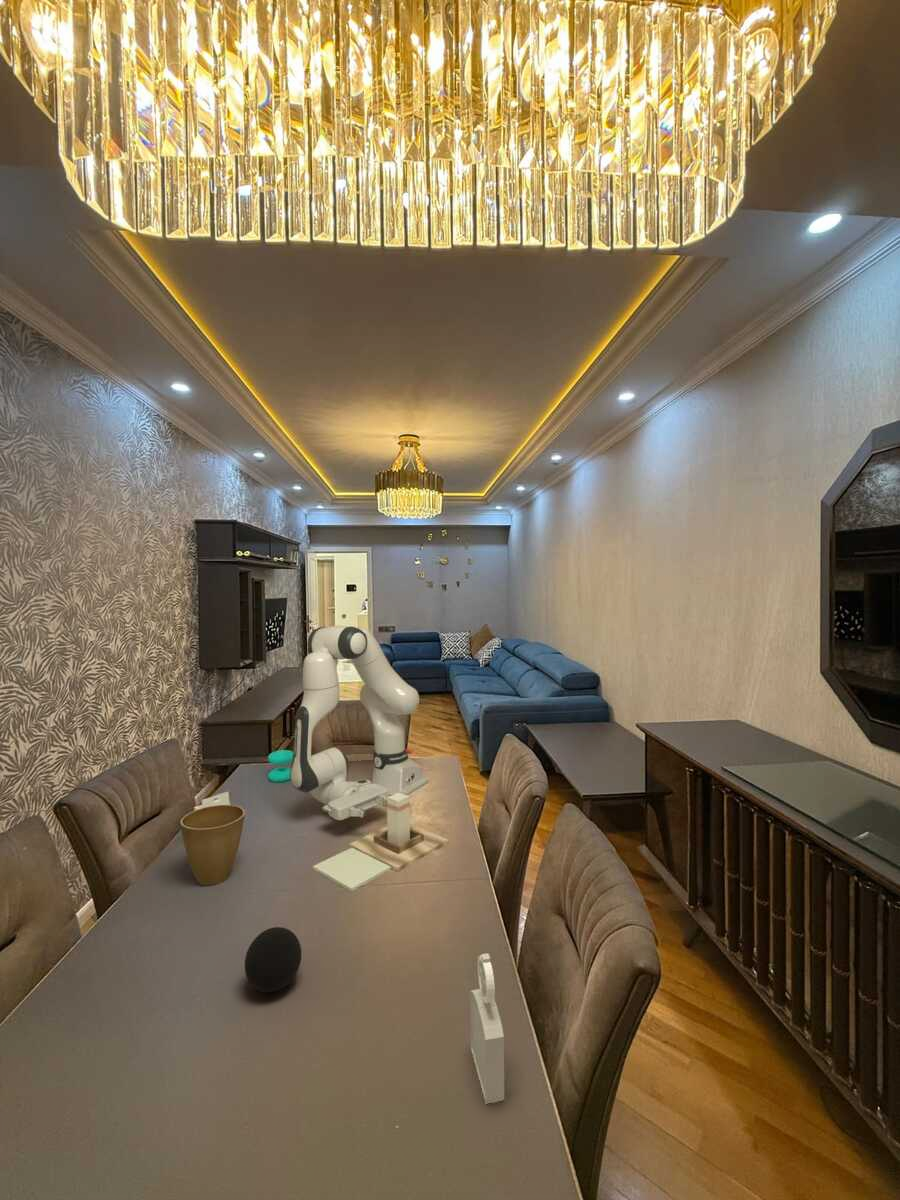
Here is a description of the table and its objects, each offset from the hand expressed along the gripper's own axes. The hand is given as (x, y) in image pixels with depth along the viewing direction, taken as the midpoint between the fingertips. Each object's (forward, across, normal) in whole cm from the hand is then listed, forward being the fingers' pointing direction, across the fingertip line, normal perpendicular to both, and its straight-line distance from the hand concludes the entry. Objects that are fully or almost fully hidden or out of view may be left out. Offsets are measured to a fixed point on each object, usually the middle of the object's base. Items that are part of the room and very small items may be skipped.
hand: (376, 808), depth 157 cm
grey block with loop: (+72, -40, +8) cm, 83 cm away
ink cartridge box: (-32, -34, +8) cm, 48 cm away
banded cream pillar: (+9, 0, +8) cm, 12 cm away
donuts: (-65, +8, +8) cm, 66 cm away
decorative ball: (+31, -52, +8) cm, 61 cm away
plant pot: (-14, -42, +8) cm, 45 cm away
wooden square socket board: (+9, 0, +8) cm, 12 cm away
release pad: (+10, -17, +8) cm, 21 cm away
